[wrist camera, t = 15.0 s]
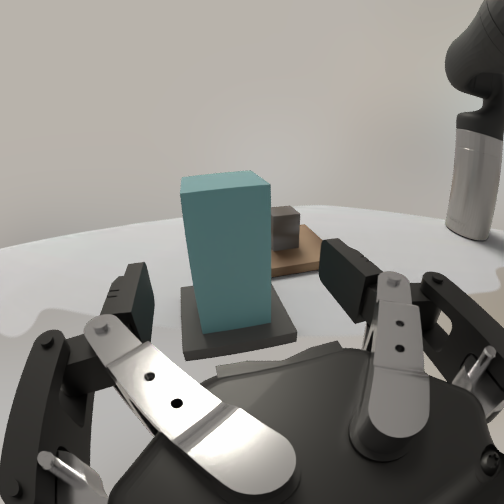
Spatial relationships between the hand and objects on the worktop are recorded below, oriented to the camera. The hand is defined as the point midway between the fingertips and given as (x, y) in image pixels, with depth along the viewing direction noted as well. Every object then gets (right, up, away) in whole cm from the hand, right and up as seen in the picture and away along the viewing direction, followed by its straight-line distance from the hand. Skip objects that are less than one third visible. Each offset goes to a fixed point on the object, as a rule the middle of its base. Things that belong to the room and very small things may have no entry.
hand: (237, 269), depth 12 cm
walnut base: (+4, +1, +20) cm, 20 cm away
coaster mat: (-1, -5, +10) cm, 11 cm away
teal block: (-1, -4, +9) cm, 10 cm away
